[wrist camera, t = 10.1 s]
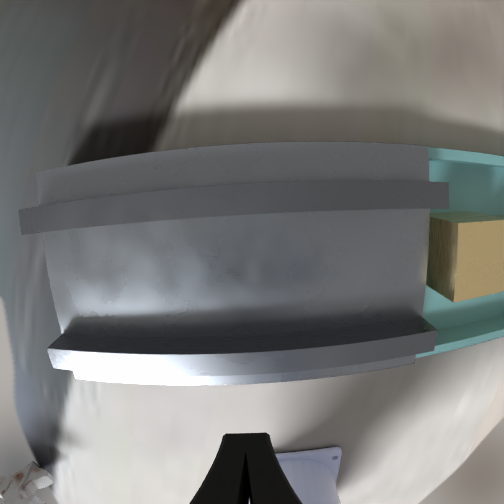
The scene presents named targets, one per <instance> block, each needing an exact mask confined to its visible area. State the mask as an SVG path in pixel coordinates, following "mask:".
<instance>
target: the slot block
mask: <svg viewBox="0 0 504 504" xmlns="http://www.w3.org/2000/svg"><path fill="white" fill-rule="evenodd" d="M36 176H37V192H38V204H39V207H33V208H27V209H22V210H19V217H20V226H21V234H22V235H24V234H32V233H41V232H42V239H43V246H44V253H45V259H46V265H47V270H48V276H49V281H50V286H51V291H52V295H53V300H54V304H55V308H56V313H57V317H58V321H59V325H60V328H61V332H62V335H61V336H60V337H59V338H58V339H57V340H55V341H54V342H53V343H52V344H51V345H50V346H49V347H48V348H47V350H48V354H49V357H50V360H51V363H52V366H53V368H58V369H66V370H73V372H74V375H75V378H76V379H84V380H94V381H105V382H117V383H133V384H153V385H237V384H258V383H274V382H287V381H298V380H308V379H318V378H326V377H335V376H342V375H350V374H356V373H363V372H369V371H376V370H381V369H387V368H393V367H398V366H403V365H408V364H413V363H415V358H416V354H421V353H426V352H431V351H434V349H435V343H436V338H437V332H438V330H437V329H436V328H435V327H434V326H433V325H431V324H430V323H429V322H428V321H427V320H425V319H424V318H423V317H422V314H423V306H424V297H425V288H426V277H427V265H428V249H429V224H430V209H449V182H431V181H429V156H428V146H422V145H410V144H394V143H374V142H338V141H304V142H267V143H246V144H230V145H216V146H204V147H193V148H183V149H174V150H165V151H157V152H149V153H142V154H135V155H128V156H121V157H115V158H108V159H102V160H97V161H91V162H85V163H80V164H75V165H70V166H65V167H60V168H55V169H51V170H46V171H41V172H37V173H36Z"/></svg>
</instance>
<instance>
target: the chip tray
mask: <svg viewBox="0 0 504 504" xmlns="http://www.w3.org/2000/svg"><path fill="white" fill-rule="evenodd" d="M428 156H429V181H431V182H449V209H430V213H445V212H464V211H471V212H476V213H481V214H486V215H504V156H498V155H492V154H485V153H477V152H470V151H461V150H453V149H443V148H432V147H428ZM422 317H423V318H424V319H425V320H427V321H428V322H429V323H430V324H431V325H433V326H434V327H435V328H436V329H437V330H438V332H437V338H436V343H435V349H434V351H431V352H426V353H421V354H416V358H419V357H424V356H429V355H433V354H438V353H442V352H447V351H451V350H455V349H459V348H463V347H467V346H471V345H474V344H478V343H482V342H485V341H489V340H492V339H496V338H499V337H503V336H504V291H502V292H498V293H494V294H490V295H485V296H481V297H477V298H472V299H468V300H463V301H459V302H454V303H453V302H452V301H450V300H448V299H447V298H445V297H444V296H442V295H441V294H439V293H438V292H436V291H435V290H433V289H431V288H430V287H428V286H427V285H426V288H425V297H424V306H423V314H422Z"/></svg>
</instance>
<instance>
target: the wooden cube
mask: <svg viewBox="0 0 504 504" xmlns="http://www.w3.org/2000/svg"><path fill="white" fill-rule="evenodd" d="M426 285H427V286H428V287H430V288H431V289H433V290H435V291H436V292H438V293H439V294H441V295H442V296H444V297H445V298H447V299H448V300H450V301H452V302H453V303H454V302H459V301H463V300H468V299H472V298H477V297H481V296H485V295H490V294H494V293H498V292H502V291H504V218H501V217H496V216H491V215H486V214H481V213H476V212H471V211H464V212H445V213H430V224H429V249H428V265H427V277H426Z"/></svg>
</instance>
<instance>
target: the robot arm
mask: <svg viewBox="0 0 504 504" xmlns="http://www.w3.org/2000/svg"><path fill="white" fill-rule="evenodd" d="M341 455H342V450H341V448H340V447H331V448H324V449H317V450H309V451H300V452H290V453H279V454H275V452H274V450H273V447H272V444H271V440H270V435H269V434H267V433H240V434H225V435H224V436H223V438H222V442H221V445H220V448H219V450H218V453H217V455H216V458H215V460H214V462H213V464H212V466H211V468H210V470H209V472H208V474H207V476H206V478H205V480H204V481H203V483H202V485H201V487H200V488H199V490H198V491H197V493H196V494H195V496H194V498H193V499H192V501H191V502H190V504H341V503H340V499H339V496H338V492H337V488H336V481H337V476H338V471H339V466H340V461H341Z"/></svg>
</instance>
